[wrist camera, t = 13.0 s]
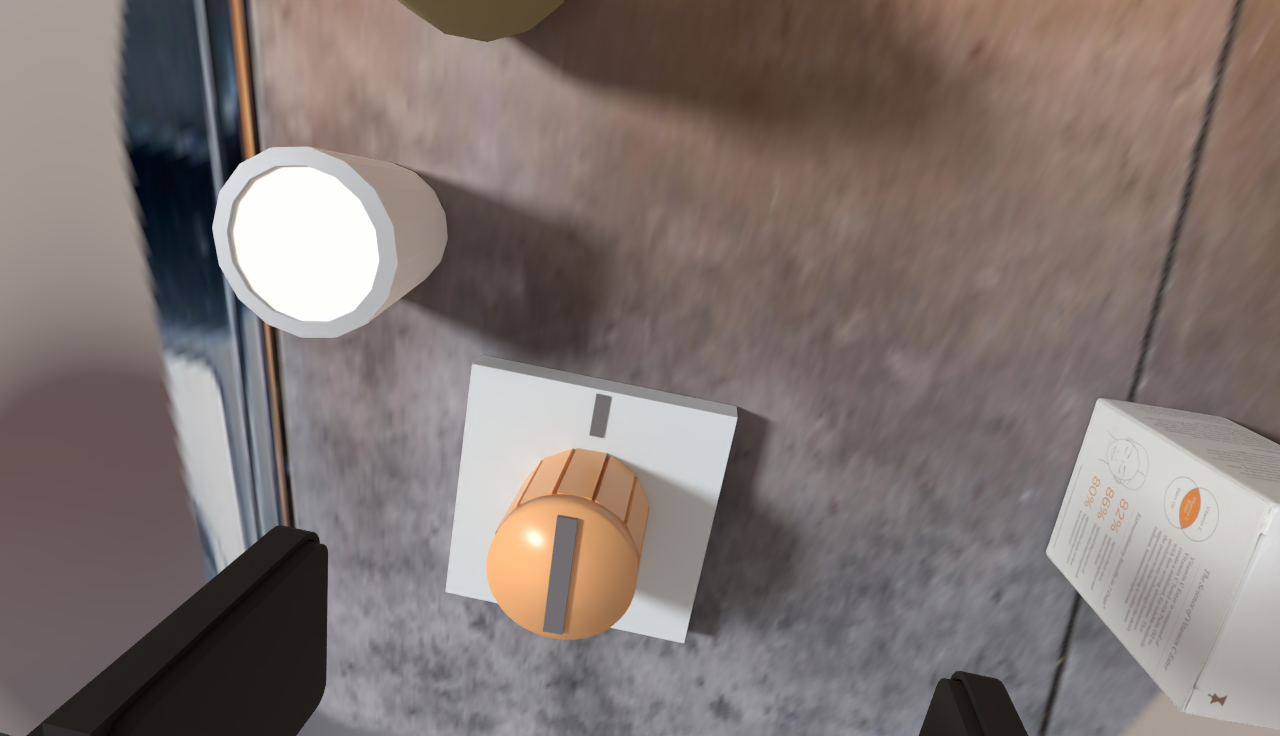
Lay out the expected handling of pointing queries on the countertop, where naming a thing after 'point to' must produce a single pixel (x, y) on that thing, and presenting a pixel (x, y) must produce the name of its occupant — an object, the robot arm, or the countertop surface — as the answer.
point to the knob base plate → (617, 425)
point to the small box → (1181, 553)
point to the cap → (570, 546)
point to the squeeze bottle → (483, 16)
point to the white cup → (325, 237)
